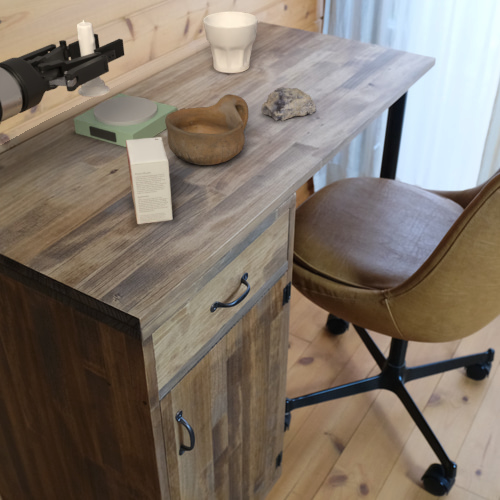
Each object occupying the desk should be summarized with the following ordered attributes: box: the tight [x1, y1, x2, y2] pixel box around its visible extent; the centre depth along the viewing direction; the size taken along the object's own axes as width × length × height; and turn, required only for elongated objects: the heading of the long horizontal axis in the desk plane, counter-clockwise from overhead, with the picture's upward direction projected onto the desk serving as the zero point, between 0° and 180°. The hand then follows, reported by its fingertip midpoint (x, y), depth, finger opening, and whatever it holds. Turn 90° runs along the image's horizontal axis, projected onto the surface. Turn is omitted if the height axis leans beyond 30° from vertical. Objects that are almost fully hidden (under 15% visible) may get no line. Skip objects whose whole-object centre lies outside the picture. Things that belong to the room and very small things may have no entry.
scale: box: [72, 93, 178, 148], centre depth 124 cm, size 14×14×4 cm
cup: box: [202, 10, 259, 74], centre depth 149 cm, size 12×12×11 cm
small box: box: [125, 136, 174, 225], centre depth 98 cm, size 8×6×10 cm
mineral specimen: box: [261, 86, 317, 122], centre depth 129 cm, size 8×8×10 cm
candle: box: [76, 19, 111, 98], centre depth 107 cm, size 5×5×12 cm
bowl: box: [165, 93, 249, 166], centre depth 115 cm, size 18×14×10 cm
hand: (109, 44), depth 111 cm, fingers closed on candle, 5 cm apart
